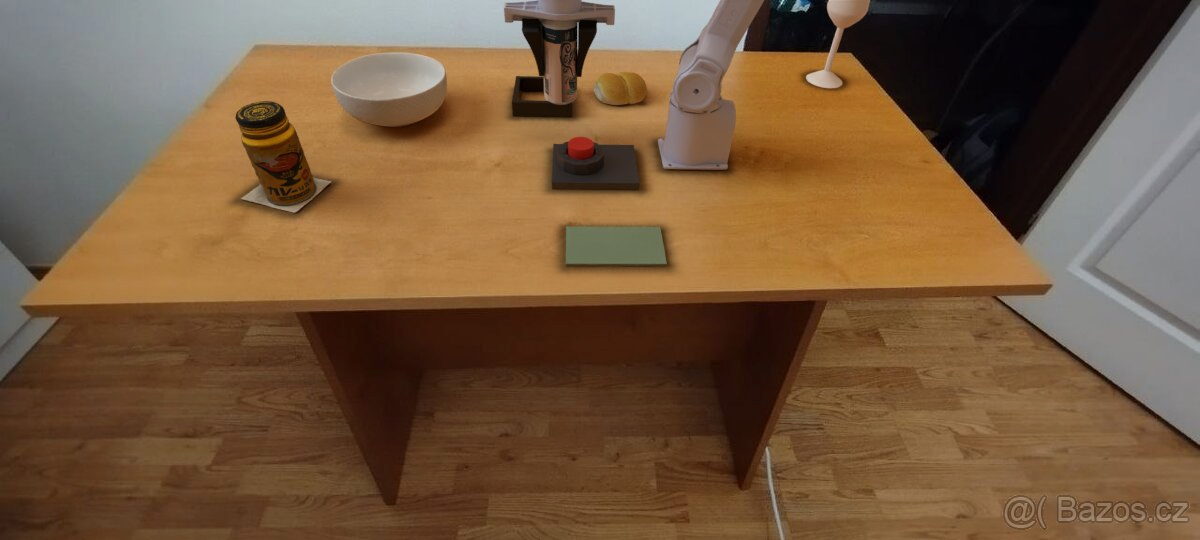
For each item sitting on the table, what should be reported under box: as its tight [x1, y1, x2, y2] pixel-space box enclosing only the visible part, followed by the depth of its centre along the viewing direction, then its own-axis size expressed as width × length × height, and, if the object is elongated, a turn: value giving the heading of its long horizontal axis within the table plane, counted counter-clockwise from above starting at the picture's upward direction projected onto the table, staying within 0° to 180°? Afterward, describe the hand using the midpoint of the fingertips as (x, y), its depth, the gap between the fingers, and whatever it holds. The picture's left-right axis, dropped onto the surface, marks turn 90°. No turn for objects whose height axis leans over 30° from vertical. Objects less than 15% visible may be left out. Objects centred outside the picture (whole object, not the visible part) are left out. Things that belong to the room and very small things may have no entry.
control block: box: [551, 140, 640, 191], centre depth 82 cm, size 12×10×3 cm
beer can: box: [542, 19, 578, 105], centre depth 81 cm, size 5×5×12 cm
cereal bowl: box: [330, 51, 448, 128], centre depth 90 cm, size 17×17×7 cm
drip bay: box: [511, 75, 573, 118], centre depth 96 cm, size 10×10×2 cm
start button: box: [567, 136, 595, 160], centre depth 81 cm, size 4×4×2 cm
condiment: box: [234, 100, 332, 213], centre depth 72 cm, size 7×8×12 cm
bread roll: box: [593, 71, 648, 106], centre depth 99 cm, size 8×9×4 cm
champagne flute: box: [805, 0, 871, 89], centre depth 100 cm, size 7×7×24 cm
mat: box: [565, 225, 668, 267], centre depth 71 cm, size 12×7×1 cm, turn 92°
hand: (560, 73), depth 82 cm, fingers closed on beer can, 5 cm apart
